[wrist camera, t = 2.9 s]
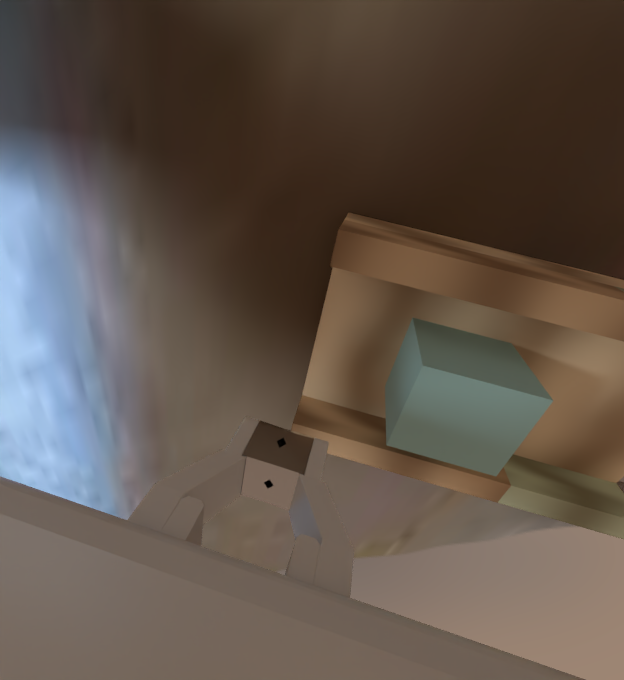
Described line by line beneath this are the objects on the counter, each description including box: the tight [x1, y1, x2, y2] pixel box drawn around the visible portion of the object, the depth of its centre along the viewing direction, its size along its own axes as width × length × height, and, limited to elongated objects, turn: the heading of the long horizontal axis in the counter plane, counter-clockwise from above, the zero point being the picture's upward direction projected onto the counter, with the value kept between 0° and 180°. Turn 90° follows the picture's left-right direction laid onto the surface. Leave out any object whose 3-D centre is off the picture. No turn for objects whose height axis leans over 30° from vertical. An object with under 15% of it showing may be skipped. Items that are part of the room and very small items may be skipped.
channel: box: [291, 213, 624, 539], centre depth 17 cm, size 19×12×5 cm, turn 78°
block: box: [385, 318, 553, 476], centre depth 16 cm, size 5×4×4 cm
